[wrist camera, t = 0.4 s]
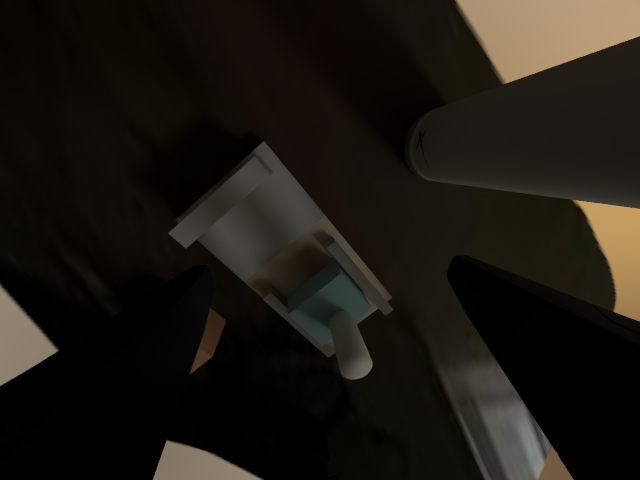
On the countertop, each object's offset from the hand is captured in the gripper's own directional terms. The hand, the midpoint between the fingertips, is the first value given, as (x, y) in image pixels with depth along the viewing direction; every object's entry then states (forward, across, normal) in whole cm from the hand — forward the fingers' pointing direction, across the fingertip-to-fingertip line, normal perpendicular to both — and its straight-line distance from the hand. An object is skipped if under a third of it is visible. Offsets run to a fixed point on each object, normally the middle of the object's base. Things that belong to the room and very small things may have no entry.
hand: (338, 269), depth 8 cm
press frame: (+13, +1, +8) cm, 16 cm away
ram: (+11, -2, +11) cm, 16 cm away
